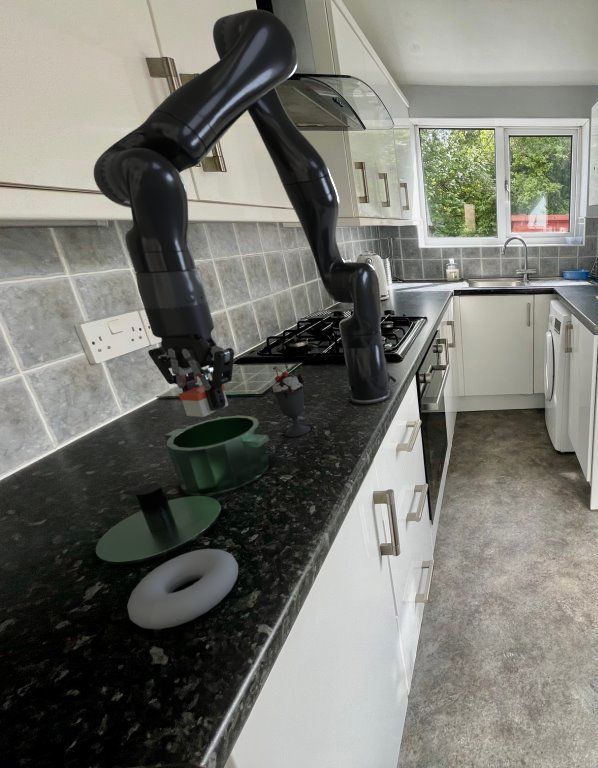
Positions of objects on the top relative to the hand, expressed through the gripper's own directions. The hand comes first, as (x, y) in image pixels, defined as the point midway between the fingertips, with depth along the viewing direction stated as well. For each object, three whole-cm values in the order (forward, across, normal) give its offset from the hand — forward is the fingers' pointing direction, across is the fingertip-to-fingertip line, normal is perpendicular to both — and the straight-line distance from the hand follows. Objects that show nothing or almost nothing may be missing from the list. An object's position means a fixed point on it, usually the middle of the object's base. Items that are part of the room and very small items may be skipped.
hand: (207, 407), depth 67 cm
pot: (+13, 0, 0) cm, 13 cm away
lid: (+12, -3, +14) cm, 19 cm away
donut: (+13, -17, +23) cm, 31 cm away
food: (0, 0, 0) cm, 0 cm away
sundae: (+13, -1, -17) cm, 21 cm away
